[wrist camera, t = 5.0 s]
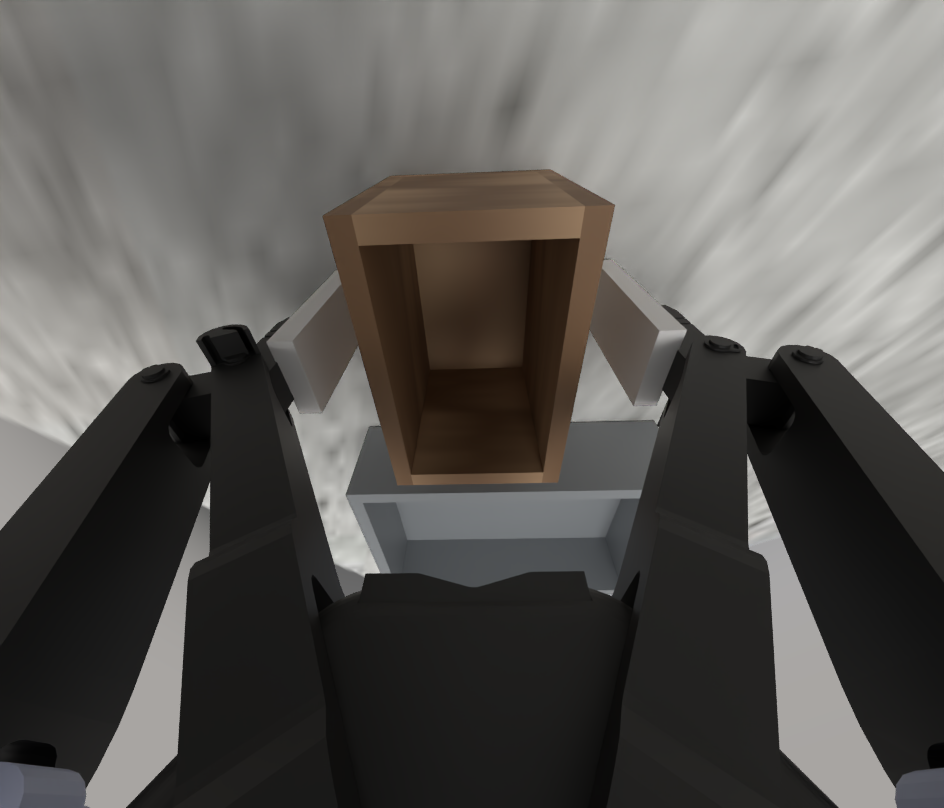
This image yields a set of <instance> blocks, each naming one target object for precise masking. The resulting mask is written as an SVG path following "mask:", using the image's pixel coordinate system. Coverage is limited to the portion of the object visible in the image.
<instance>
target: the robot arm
mask: <svg viewBox="0 0 944 808" xmlns="http://www.w3.org/2000/svg"><path fill="white" fill-rule="evenodd" d="M684 318H685V317H684V316H683V315H681V314H680V313H679V312H678V311H677V310H675V309H672V308H670V307H668V306H666V305H660V304H659V303H658V302H657V301H656V300H655V299H654V298H653V297H652V296H651V295H649V294H648V293H647V292H646V291H645V290H644V289H643V288H642V287H641V286H640V285H639V284H638V283H637V282H636V281H635V280H634V279H633V278H631V277H630V276H629V275H628V274H627V273H626V272H625V271H624V270H623V269H622V268H621V267H620V266H619V265H618V264H617V263H616V262H614V261H613V260H604V261H603V266H602V270H601V275H600V280H599V285H598V290H597V295H596V300H595V305H594V309H593V314H592V319H591V324H590V329H589V330H590V331H591V333H592V335H593V336H594V338H595V340H596V342H597V343H598V345H599V347H600V349H601V350H602V352H603V354H604V356H605V357H606V359H607V361H608V363H609V364H610V366H611V368H612V369H613V371H614V373H615V375H616V376H617V378H618V380H619V382H620V383H621V385H622V387H623V389H624V390H625V392H626V394H627V396H628V397H629V399H630V401H631V402H632V404H633V406H652V405H657V403H658V401H659V398H660V396H661V393H662V391H664V393H665V394H666V395H667V397H668V398H669V399H668V401H667V403H666V406H665V408H664V410H663V413H662V415H661V417H660V420H659V422H658V424H657V426H658V427H659V430H658V433H657V437H656V441H655V444H654V448H653V452H652V456H651V459H650V463H649V467H648V470H647V474H646V478H645V481H644V485H643V489H642V492H641V496H640V500H639V503H638V507H637V511H636V515H635V518H634V522H633V526H632V529H631V533H630V537H629V540H628V544H627V548H626V551H625V555H624V559H623V563H622V566H621V570H620V574H619V577H618V581H617V584H616V587H615V589H614V592H613V595H612V596H610V595H607V594H605V593H602V592H600V591H597V590H594V589H591V588H588V584H587V580H586V576H585V572H584V571H548V572H527V573H524V574H521V575H517V576H514V577H510V578H507V579H503V580H500V581H497V582H493V583H490V584H486V585H483V586H479V587H468V586H464V585H461V584H457V583H453V582H450V581H446V580H442V579H439V578H435V577H431V576H428V575H424V574H420V573H379V574H365V579H364V583H363V587H362V591H359V592H355V593H353V594H351V595H348V596H346V597H345V596H344V593H343V591H342V588H341V586H340V583H339V580H338V576H337V573H336V569H335V565H334V562H333V558H332V555H331V551H330V548H329V544H328V541H327V537H326V534H325V530H324V527H323V523H322V520H321V516H320V513H319V509H318V506H317V502H316V499H315V495H314V492H313V488H312V485H311V481H310V477H309V474H308V470H307V467H306V463H305V460H304V456H303V453H302V449H301V446H300V442H299V439H298V435H297V432H296V428H295V425H294V421H293V418H292V416H291V414H290V412H289V409H288V408H289V406H290V405H291V403H292V402H293V400H294V402H295V404H296V406H297V409H298V411H299V413H300V414H306V413H322V412H323V410H324V408H325V407H326V405H327V403H328V401H329V399H330V397H331V395H332V393H333V392H334V390H335V388H336V386H337V384H338V382H339V380H340V378H341V376H342V375H343V373H344V371H345V369H346V367H347V365H348V363H349V361H350V360H351V358H352V356H353V354H354V352H355V350H356V348H357V346H358V342H357V338H356V335H355V331H354V327H353V324H352V320H351V317H350V313H349V309H348V306H347V302H346V299H345V295H344V291H343V288H342V284H341V281H340V277H339V273H338V270H336V271H335V272H334V273H333V274H332V275H331V276H330V277H329V278H328V279H327V280H326V281H325V282H324V283H323V284H322V285H321V286H320V287H319V288H318V289H317V290H316V291H315V292H314V293H313V294H312V295H311V296H310V297H309V298H308V300H307V301H306V302H305V303H304V304H303V305H302V306H301V307H300V308H299V309H298V310H297V311H296V312H295V313H294V314H293V315H292V316H291V317H288V318H287V319H285V320H283V321H281V322H279V323H277V324H276V325H275V326H274V327H273V328H272V329H271V330H270V332H268V333H267V334H266V335H265V338H262V339H261V340H260V341H259V342H258V343H257V344H256V342H255V340H254V338H253V336H252V334H251V332H250V330H249V328H248V327H247V326H244V325H227V326H222V327H218V328H215V329H212V330H210V331H207V332H205V333H204V334H202V335H201V336H199V337H198V339H197V340H196V342H197V344H198V345H199V347H200V349H201V350H202V352H203V353H204V355H205V357H206V358H207V360H208V362H209V363H210V365H211V372H208V373H202V374H197V375H192V376H189V375H188V374H187V372H186V371H185V369H184V368H183V366H182V365H180V364H177V363H166V364H161V365H153V366H150V367H147V368H145V369H143V370H142V371H141V372H139V373H137V374H135V375H134V376H133V377H131V378H130V379H129V380H128V381H127V382H126V383H125V385H124V386H123V387H122V388H121V389H120V391H119V392H118V393H117V394H116V395H115V396H114V398H113V399H112V400H111V401H110V402H109V403H108V405H107V406H106V407H105V408H104V409H103V411H102V412H101V413H100V414H99V415H98V416H97V418H96V419H95V420H94V421H93V422H92V423H91V425H90V426H89V427H88V428H87V429H86V430H85V432H84V433H83V434H82V435H81V436H80V438H79V439H78V440H77V441H76V442H75V443H74V445H73V446H72V447H71V448H70V449H69V450H68V452H67V453H66V454H65V455H64V456H63V458H62V459H61V460H60V461H59V462H58V463H57V465H56V466H55V467H54V468H53V469H52V470H51V472H50V473H49V474H48V475H47V476H46V477H45V479H44V480H43V481H42V482H41V484H40V485H39V486H38V487H37V488H36V489H35V491H34V492H33V493H32V494H31V495H30V496H29V498H28V499H27V500H26V501H25V502H24V503H23V505H22V506H21V507H20V508H19V509H18V510H17V512H16V513H15V514H14V515H13V516H12V518H11V519H10V520H9V521H8V522H7V523H6V524H5V526H4V527H3V528H2V529H1V530H0V808H89V807H87V806H84V804H85V799H86V787H87V786H88V784H89V782H90V780H91V779H92V777H93V775H94V773H95V771H96V770H97V768H98V766H99V764H100V762H101V760H102V758H103V756H104V754H105V752H106V750H107V748H108V746H109V744H110V742H111V740H112V738H113V736H114V734H115V732H116V730H117V728H118V726H119V723H120V721H121V719H122V716H123V714H124V712H125V709H126V707H127V704H128V702H129V700H130V697H131V695H132V692H133V690H134V687H135V684H136V682H137V679H138V676H139V674H140V671H141V668H142V666H143V663H144V660H145V657H146V655H147V652H148V649H149V647H150V644H151V641H152V638H153V636H154V633H155V630H156V627H157V624H158V622H159V619H160V617H161V613H162V611H163V608H164V605H165V603H166V600H167V597H168V594H169V592H170V589H171V586H172V584H173V581H174V578H175V576H176V573H177V570H178V567H179V565H180V562H181V559H182V557H183V554H184V551H185V548H186V546H187V543H188V540H189V537H190V535H191V532H192V529H193V527H194V523H195V521H196V518H197V516H198V513H199V510H200V507H201V505H202V502H203V499H204V497H205V494H206V491H207V488H208V486H209V483H210V552H209V557H207V558H205V559H202V560H200V561H198V562H196V563H195V564H194V565H193V566H192V568H191V569H190V573H189V578H188V586H187V603H186V604H187V605H186V621H185V637H184V654H183V671H182V688H181V706H180V722H179V739H178V740H179V741H178V755H177V756H176V757H175V758H174V759H173V760H172V761H171V762H170V763H169V764H168V765H167V766H166V767H165V768H164V769H163V770H162V771H161V772H160V773H159V774H158V775H157V776H156V777H155V778H154V779H153V780H152V781H151V782H150V783H149V784H148V786H147V787H146V788H145V789H144V790H143V791H142V792H141V793H140V794H139V795H138V796H137V797H136V798H135V799H134V800H133V801H132V802H131V803H130V804H129V805H128V806H127V807H126V808H838V807H837V806H836V805H835V804H834V803H833V802H832V801H831V800H830V799H829V798H828V797H827V796H826V795H825V794H824V793H823V792H822V791H821V790H820V789H819V788H818V787H817V786H816V785H815V784H814V783H813V782H812V781H811V780H810V779H809V778H808V777H807V776H806V775H805V774H804V773H803V772H802V771H801V770H800V769H799V768H798V767H797V766H796V765H795V764H794V763H793V762H792V761H791V760H790V759H789V758H788V757H787V756H786V755H785V754H784V753H783V752H782V751H781V750H780V749H779V733H778V718H777V717H778V716H777V699H776V683H775V682H776V681H775V664H774V646H773V629H772V612H771V594H770V577H769V570H768V565H767V561H766V560H765V558H764V557H763V556H762V555H761V554H759V553H756V552H754V551H751V550H749V546H748V489H747V454H748V457H749V459H750V461H751V464H752V466H753V469H754V471H755V474H756V476H757V479H758V481H759V484H760V486H761V489H762V491H763V493H764V496H765V498H766V501H767V503H768V506H769V508H770V511H771V513H772V516H773V518H774V521H775V523H776V525H777V528H778V530H779V533H780V535H781V538H782V540H783V542H784V545H785V548H786V550H787V553H788V555H789V557H790V560H791V562H792V565H793V567H794V570H795V572H796V574H797V577H798V580H799V582H800V584H801V587H802V589H803V591H804V594H805V597H806V599H807V602H808V604H809V607H810V609H811V612H812V614H813V616H814V619H815V621H816V624H817V626H818V629H819V631H820V633H821V636H822V639H823V641H824V643H825V646H826V648H827V651H828V653H829V656H830V658H831V661H832V663H833V666H834V668H835V671H836V673H837V675H838V678H839V680H840V683H841V685H842V688H843V690H844V692H845V694H846V696H847V698H848V701H849V703H850V705H851V707H852V709H853V712H854V714H855V716H856V718H857V720H858V723H859V724H860V727H861V728H862V730H863V732H864V734H865V736H866V738H867V739H868V741H869V743H870V745H871V747H872V748H873V750H874V752H875V754H876V756H877V758H878V760H879V761H880V763H881V765H882V767H883V768H884V770H885V772H886V774H887V775H888V777H889V778H890V780H891V782H892V783H893V785H894V786H895V788H896V796H895V800H896V804H897V808H944V472H943V471H942V470H941V469H940V468H939V467H938V465H937V464H936V463H935V462H934V461H933V460H932V459H931V458H930V457H929V456H928V455H927V454H926V453H925V452H924V451H923V450H922V449H921V448H920V446H919V445H918V444H917V443H916V442H915V441H914V440H913V439H912V438H911V437H910V436H909V435H908V434H907V433H906V432H905V431H904V430H903V429H902V427H901V426H900V425H899V424H898V423H897V422H896V421H895V420H894V419H893V418H892V417H891V416H890V415H889V414H888V413H887V412H886V411H885V410H884V408H883V407H882V406H881V405H880V404H879V403H878V402H877V401H876V400H875V399H874V398H873V397H872V396H871V395H870V394H869V393H868V392H867V391H866V390H865V388H864V387H863V386H862V385H861V384H860V383H859V382H858V381H857V380H856V379H855V378H854V377H853V376H852V375H851V374H850V373H849V372H848V371H847V369H846V368H845V367H844V366H843V365H842V364H841V363H840V362H839V361H838V360H837V359H835V358H834V357H833V356H831V355H829V354H827V353H825V352H823V350H821V349H818V348H814V347H811V346H800V345H786V346H781V347H780V348H779V349H778V350H777V352H776V353H775V355H774V357H773V358H772V360H771V359H764V358H756V357H748V356H746V351H745V349H744V347H743V346H741V345H740V344H739V343H737V342H735V341H732V340H730V339H727V338H723V337H719V336H710V335H709V336H705V335H704V334H703V333H702V332H700V331H699V330H698V329H697V328H696V327H695V326H694V325H693V324H690V322H689V321H688V320H687V319H684Z"/></svg>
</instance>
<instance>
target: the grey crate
mask: <svg viewBox="0 0 944 808" xmlns="http://www.w3.org/2000/svg"><path fill="white" fill-rule="evenodd" d="M658 430H659V428H658V426H657V425H656V423H655V421H617V422H571V423H570V426H569V431H568V436H567V441H566V446H565V451H564V456H563V461H562V465H561V470H560V475H559V480H558V483H506V484H449V485H397V482H396V478H395V475H394V471H393V467H392V464H391V460H390V457H389V453H388V450H387V446H386V442H385V439H384V435H383V432H382V428H381V427H369V429H368V432H367V435H366V438H365V441H364V443H363V446H362V449H361V452H360V455H359V458H358V461H357V464H356V467H355V469H354V472H353V475H352V478H351V481H350V484H349V487H348V490H347V492H346V497H347V499H348V501H349V504H350V506H351V508H352V510H353V513H354V515H355V517H356V519H357V522H358V524H359V526H360V528H361V531H362V533H363V535H364V537H365V539H366V542H367V544H368V546H369V548H370V551H371V553H372V555H373V557H374V560H375V562H376V564H377V566H378V569H379V571H380V573H420V574H424V575H428V576H431V577H435V578H439V579H442V580H446V581H450V582H453V583H457V584H461V585H464V586H468V587H479V586H483V585H486V584H490V583H493V582H497V581H500V580H503V579H507V578H510V577H514V576H517V575H521V574H524V573H527V572H548V571H584V572H585V576H586V580H587V584H588V588H591V589H594V590H597V591H600V592H602V593H605V594H613V592H614V589H615V587H616V584H617V581H618V577H619V574H620V570H621V566H622V563H623V559H624V555H625V551H626V548H627V544H628V540H629V537H630V533H631V529H632V526H633V522H634V518H635V515H636V511H637V507H638V503H639V500H640V496H641V492H642V489H643V485H644V481H645V478H646V474H647V470H648V467H649V463H650V459H651V456H652V452H653V448H654V444H655V441H656V437H657V433H658Z"/></svg>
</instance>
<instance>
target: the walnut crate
mask: <svg viewBox="0 0 944 808" xmlns="http://www.w3.org/2000/svg"><path fill="white" fill-rule="evenodd" d="M614 207H615V205H614V204H612V203H610V202H609V201H607V200H605V199H603V198H601V197H599V196H598V195H596V194H594V193H592V192H590V191H589V190H587V189H585V188H583V187H581V186H579V185H578V184H576V183H574V182H572V181H570V180H569V179H567V178H565V177H563V176H561V175H560V174H558V173H556V172H554V171H552V170H526V171H501V172H475V173H450V174H424V175H399V176H389V177H388V178H386V179H384V180H383V181H381V182H379V183H378V184H376V185H374V186H372V187H371V188H369V189H367V190H366V191H364V192H362V193H360V194H359V195H357V196H355V197H354V198H352V199H350V200H349V201H347V202H345V203H343V204H342V205H340V206H338V207H337V208H335V209H333V210H331V211H330V212H328V213H326V214H325V215H323V220H324V223H325V227H326V230H327V234H328V238H329V241H330V245H331V248H332V252H333V255H334V259H335V263H336V266H337V270H338V273H339V277H340V281H341V284H342V288H343V291H344V295H345V299H346V302H347V306H348V309H349V313H350V317H351V320H352V324H353V327H354V331H355V335H356V338H357V342H358V345H359V349H360V353H361V356H362V360H363V363H364V367H365V370H366V374H367V378H368V381H369V385H370V388H371V392H372V396H373V399H374V403H375V406H376V410H377V414H378V417H379V421H380V424H381V428H382V432H383V435H384V439H385V442H386V446H387V450H388V453H389V457H390V460H391V464H392V467H393V471H394V475H395V478H396V482H397V485H449V484H506V483H558V480H559V475H560V470H561V465H562V461H563V456H564V451H565V446H566V441H567V436H568V431H569V426H570V422H571V417H572V412H573V407H574V402H575V397H576V392H577V387H578V383H579V378H580V373H581V368H582V363H583V358H584V353H585V348H586V344H587V339H588V334H589V329H590V324H591V319H592V314H593V309H594V305H595V300H596V295H597V290H598V285H599V280H600V275H601V270H602V266H603V261H604V256H605V251H606V246H607V241H608V236H609V231H610V227H611V222H612V217H613V212H614Z"/></svg>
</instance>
